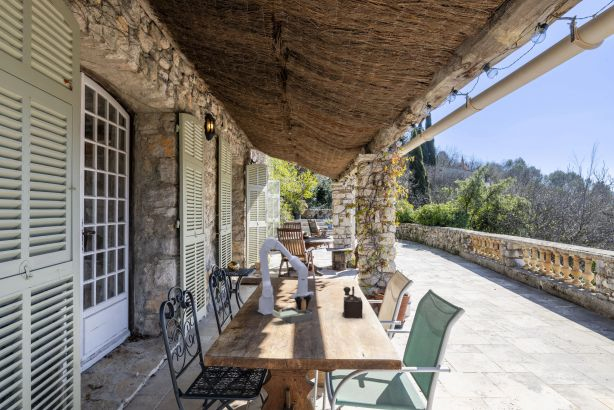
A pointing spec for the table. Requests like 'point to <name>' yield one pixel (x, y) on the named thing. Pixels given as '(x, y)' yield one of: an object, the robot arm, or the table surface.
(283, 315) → the lid
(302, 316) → the housing
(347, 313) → the manual coffee grinder
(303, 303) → the tan cylindrical peg
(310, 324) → the table surface
